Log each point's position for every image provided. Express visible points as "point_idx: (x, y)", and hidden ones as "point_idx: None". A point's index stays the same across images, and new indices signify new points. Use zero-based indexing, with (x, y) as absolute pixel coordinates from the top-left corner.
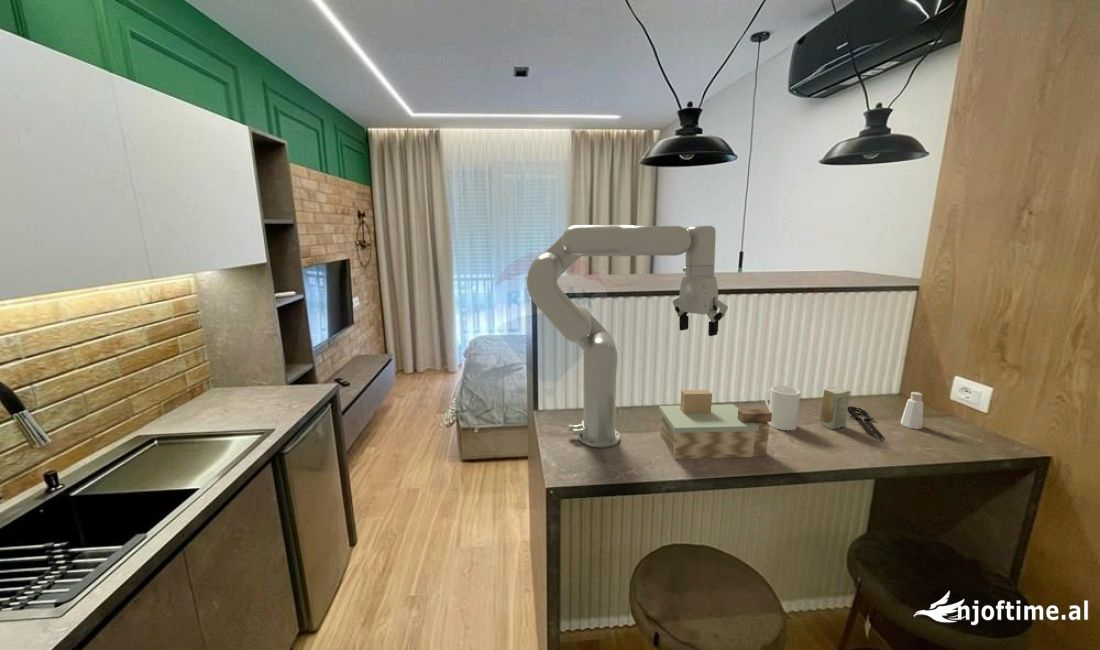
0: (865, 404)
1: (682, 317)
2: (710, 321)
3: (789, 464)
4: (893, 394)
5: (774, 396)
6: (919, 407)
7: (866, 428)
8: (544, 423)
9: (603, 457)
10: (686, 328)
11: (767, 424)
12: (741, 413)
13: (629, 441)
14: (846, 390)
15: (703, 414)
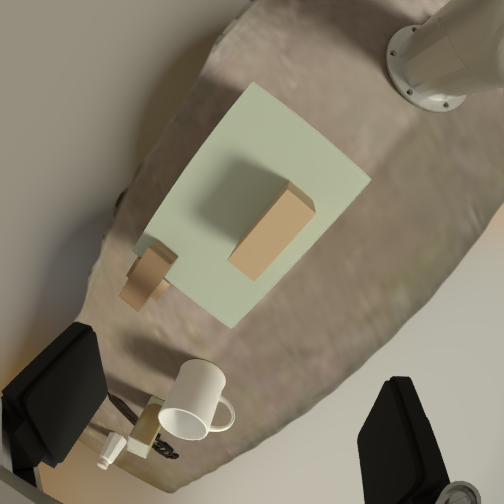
0: (173, 469)
1: (414, 489)
2: (19, 412)
3: (123, 249)
4: (172, 492)
5: (193, 404)
6: (101, 451)
7: (131, 413)
8: None
9: (364, 11)
10: (365, 428)
11: (128, 272)
12: (157, 252)
13: (378, 97)
14: (129, 450)
15: (247, 216)
